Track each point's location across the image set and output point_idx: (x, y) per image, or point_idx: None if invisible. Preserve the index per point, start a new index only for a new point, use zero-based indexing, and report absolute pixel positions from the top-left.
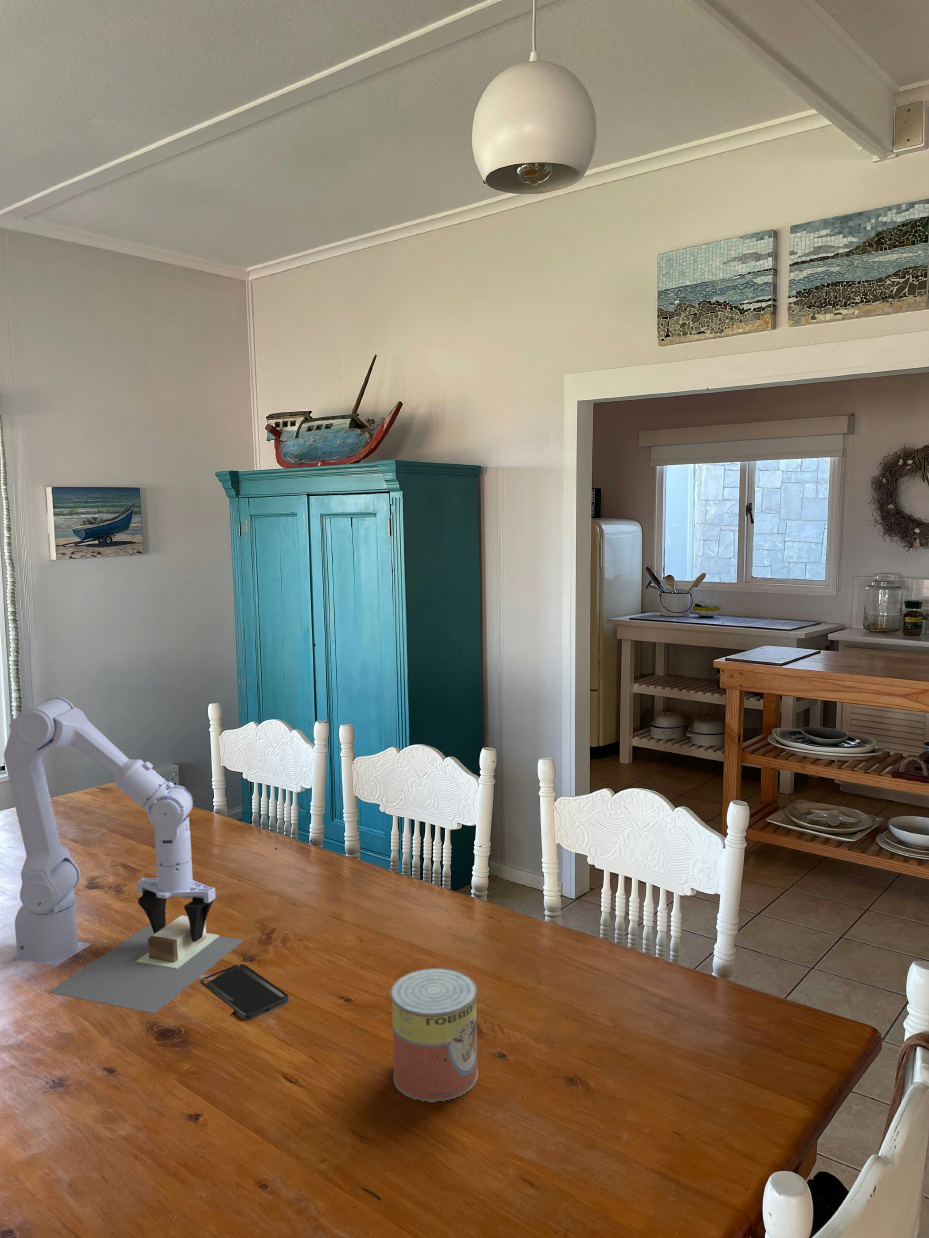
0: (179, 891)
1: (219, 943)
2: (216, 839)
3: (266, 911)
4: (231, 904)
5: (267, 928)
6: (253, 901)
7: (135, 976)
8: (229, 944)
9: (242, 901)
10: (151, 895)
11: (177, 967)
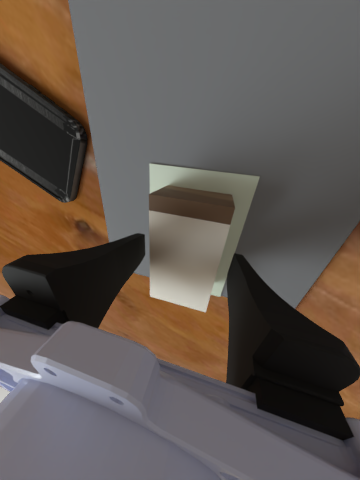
0: (7, 371)
1: None
2: None
3: (142, 327)
4: (189, 345)
5: (116, 296)
6: (168, 346)
7: (229, 99)
8: None
9: (180, 348)
10: (274, 382)
11: (149, 166)
